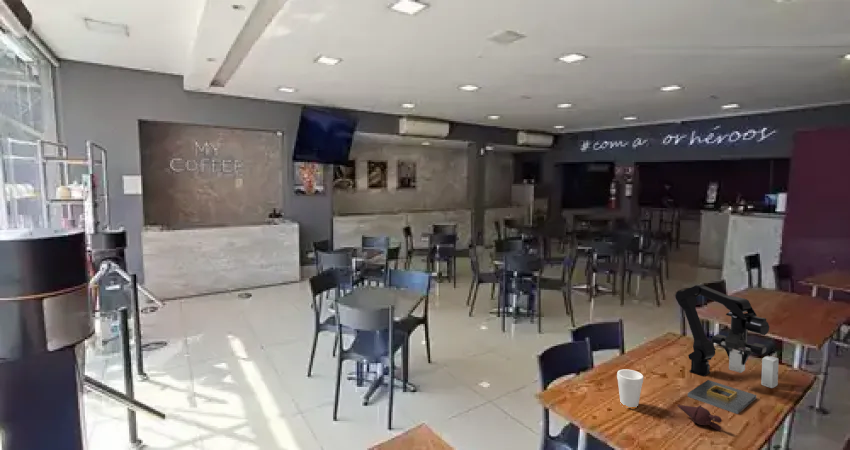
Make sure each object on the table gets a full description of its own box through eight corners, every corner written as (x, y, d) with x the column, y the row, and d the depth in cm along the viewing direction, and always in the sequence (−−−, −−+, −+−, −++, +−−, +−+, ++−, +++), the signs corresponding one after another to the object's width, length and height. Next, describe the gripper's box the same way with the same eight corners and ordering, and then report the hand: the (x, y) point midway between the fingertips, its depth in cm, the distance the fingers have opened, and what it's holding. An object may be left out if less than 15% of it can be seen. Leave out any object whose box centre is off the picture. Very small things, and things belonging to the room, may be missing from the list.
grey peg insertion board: (687, 396, 184) (687, 390, 183) (707, 383, 195) (708, 377, 195) (737, 414, 169) (737, 407, 169) (756, 398, 181) (756, 392, 181)
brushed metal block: (728, 369, 191) (729, 348, 190) (732, 366, 193) (733, 345, 192) (740, 372, 187) (741, 351, 186) (744, 370, 190) (745, 348, 189)
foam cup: (631, 413, 171) (632, 381, 170) (611, 403, 179) (612, 372, 178) (647, 407, 175) (648, 376, 174) (627, 397, 183) (628, 367, 182)
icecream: (673, 403, 166) (717, 423, 154) (682, 392, 170) (726, 411, 158) (672, 417, 168) (716, 438, 156) (682, 407, 172) (725, 427, 160)
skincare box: (772, 388, 189) (774, 361, 188) (760, 384, 193) (761, 358, 192) (778, 384, 193) (779, 358, 192) (765, 381, 196) (767, 355, 195)
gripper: (706, 326, 191) (705, 360, 193) (758, 337, 176) (756, 375, 178) (717, 321, 198) (715, 354, 199) (767, 332, 183) (765, 368, 184)
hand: (737, 363), depth 190 cm, fingers closed on brushed metal block, 4 cm apart
